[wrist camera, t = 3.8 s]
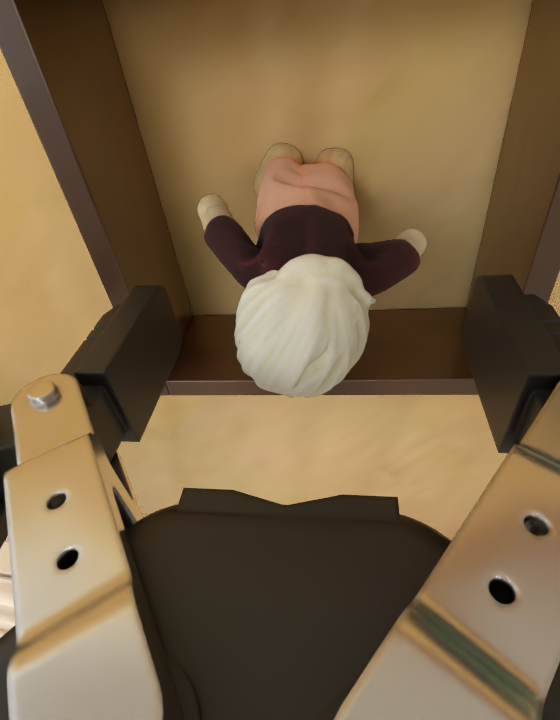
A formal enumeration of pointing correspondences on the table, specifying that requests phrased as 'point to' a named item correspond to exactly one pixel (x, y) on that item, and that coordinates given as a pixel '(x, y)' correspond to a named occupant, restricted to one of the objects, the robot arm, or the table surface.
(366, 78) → the table surface
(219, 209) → the grandmother figurine
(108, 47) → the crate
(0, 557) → the honey pot
